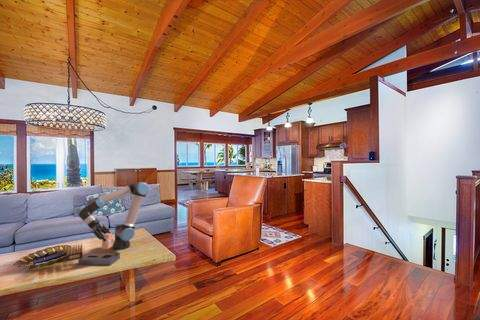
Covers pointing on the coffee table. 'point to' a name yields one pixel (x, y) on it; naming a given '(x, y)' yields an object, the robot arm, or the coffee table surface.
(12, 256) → the coffee table surface
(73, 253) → the ammunition clip
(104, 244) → the square peg
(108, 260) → the bore plate
